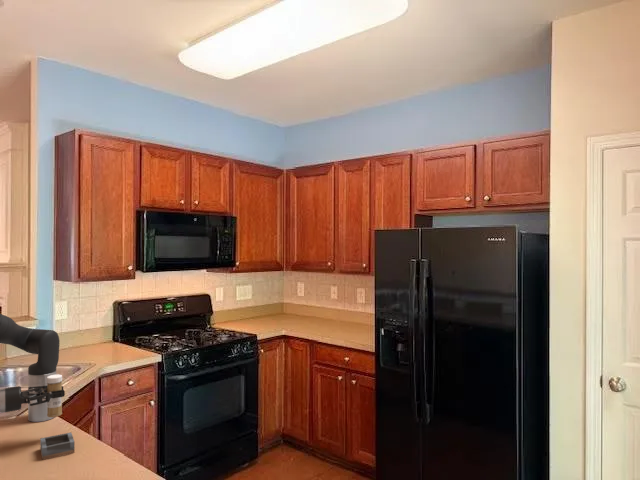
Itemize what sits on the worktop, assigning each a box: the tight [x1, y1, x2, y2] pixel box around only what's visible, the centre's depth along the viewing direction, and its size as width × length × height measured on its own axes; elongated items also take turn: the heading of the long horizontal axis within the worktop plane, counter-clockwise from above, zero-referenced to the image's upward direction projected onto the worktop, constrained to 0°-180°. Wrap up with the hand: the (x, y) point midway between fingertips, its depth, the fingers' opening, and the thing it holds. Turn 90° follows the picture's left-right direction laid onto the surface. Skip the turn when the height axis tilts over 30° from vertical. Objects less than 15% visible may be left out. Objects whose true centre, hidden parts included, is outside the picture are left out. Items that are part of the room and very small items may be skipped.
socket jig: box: [39, 432, 76, 460], centre depth 151 cm, size 9×9×4 cm
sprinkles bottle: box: [47, 373, 63, 418], centre depth 161 cm, size 5×5×14 cm
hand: (63, 390), depth 162 cm, fingers closed on sprinkles bottle, 4 cm apart
